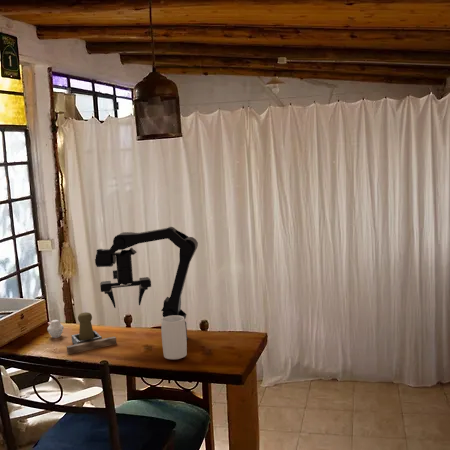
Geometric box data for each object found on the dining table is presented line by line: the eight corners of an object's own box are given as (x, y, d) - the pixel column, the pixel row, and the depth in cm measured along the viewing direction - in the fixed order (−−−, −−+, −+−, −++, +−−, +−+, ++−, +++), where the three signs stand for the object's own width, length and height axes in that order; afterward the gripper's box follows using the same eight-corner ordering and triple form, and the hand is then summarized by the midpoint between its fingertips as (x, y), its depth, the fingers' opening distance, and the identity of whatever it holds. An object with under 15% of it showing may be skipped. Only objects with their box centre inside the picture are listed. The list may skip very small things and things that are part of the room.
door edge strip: (115, 342, 210) (114, 336, 210) (116, 343, 208) (116, 337, 208) (67, 352, 201) (66, 346, 201) (68, 354, 200) (67, 347, 199)
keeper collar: (95, 336, 218) (95, 330, 217) (102, 343, 210) (101, 336, 209) (72, 341, 213) (71, 335, 213) (77, 348, 205) (77, 341, 205)
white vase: (62, 338, 217) (60, 321, 216) (46, 339, 217) (44, 322, 216) (66, 333, 223) (64, 316, 223) (50, 334, 223) (49, 317, 222)
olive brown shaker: (84, 345, 207) (82, 316, 206) (75, 341, 211) (73, 313, 210) (98, 340, 211) (95, 312, 210) (89, 337, 215) (87, 310, 214)
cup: (174, 352, 197) (171, 313, 195) (192, 356, 192) (190, 316, 190) (158, 360, 190) (155, 320, 188) (176, 364, 185) (174, 323, 183)
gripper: (147, 260, 219) (149, 298, 221) (98, 264, 215) (101, 303, 217) (149, 265, 208) (152, 305, 210) (99, 270, 204) (102, 311, 206)
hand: (127, 306), depth 211 cm, fingers open, 9 cm apart
